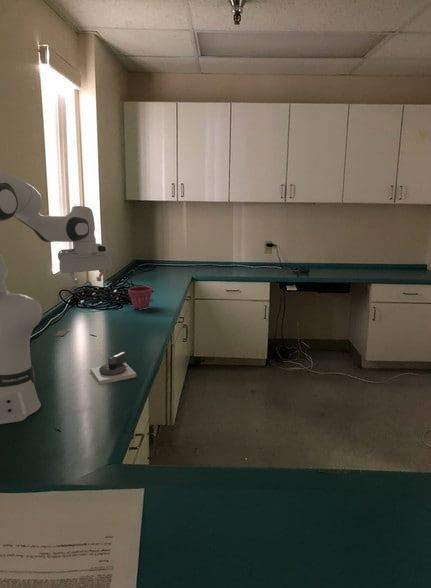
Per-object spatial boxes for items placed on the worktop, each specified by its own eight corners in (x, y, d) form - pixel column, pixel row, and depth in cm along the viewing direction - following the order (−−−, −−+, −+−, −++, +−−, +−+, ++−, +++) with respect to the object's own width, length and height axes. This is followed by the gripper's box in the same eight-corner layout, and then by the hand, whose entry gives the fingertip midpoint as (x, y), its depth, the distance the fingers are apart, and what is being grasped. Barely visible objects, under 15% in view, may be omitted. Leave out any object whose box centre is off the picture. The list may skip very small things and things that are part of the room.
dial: (114, 377, 166) (113, 364, 165) (94, 372, 171) (93, 359, 170) (134, 366, 177) (133, 354, 176) (114, 362, 181) (114, 350, 180)
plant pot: (125, 311, 269) (124, 290, 266) (133, 305, 283) (132, 285, 280) (148, 311, 267) (147, 291, 264) (155, 306, 280) (154, 286, 278)
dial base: (99, 384, 164) (99, 380, 164) (90, 371, 176) (90, 368, 176) (136, 376, 171) (136, 372, 170) (125, 365, 183) (124, 361, 182)
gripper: (58, 250, 169) (62, 286, 171) (112, 247, 178) (114, 281, 181) (55, 248, 174) (59, 283, 177) (107, 245, 183) (109, 278, 186)
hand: (87, 282), depth 179 cm, fingers open, 8 cm apart
